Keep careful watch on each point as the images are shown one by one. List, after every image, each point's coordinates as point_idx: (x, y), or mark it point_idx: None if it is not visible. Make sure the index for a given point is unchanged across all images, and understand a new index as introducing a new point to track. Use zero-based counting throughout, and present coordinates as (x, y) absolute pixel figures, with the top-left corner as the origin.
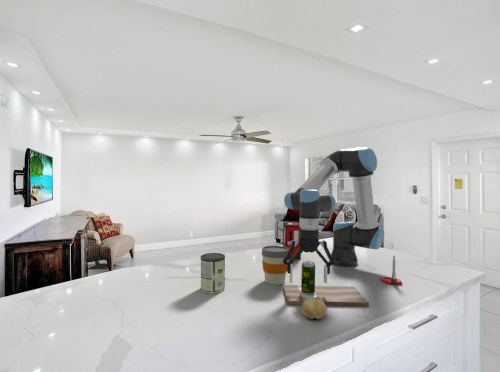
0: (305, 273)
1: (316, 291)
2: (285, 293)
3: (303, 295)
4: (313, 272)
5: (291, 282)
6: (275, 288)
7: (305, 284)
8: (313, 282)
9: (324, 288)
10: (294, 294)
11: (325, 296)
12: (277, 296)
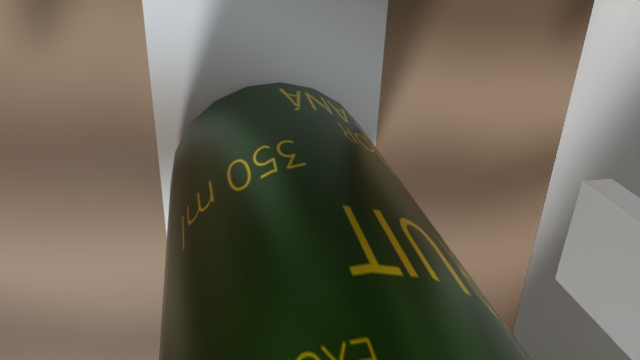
0: (457, 275)
1: (139, 225)
2: (559, 127)
3: (356, 59)
4: (229, 325)
5: (596, 180)
6: (563, 311)
7: (365, 149)
8: (211, 185)
9: (10, 337)
10: (465, 94)
11: (7, 55)
12: (615, 117)
